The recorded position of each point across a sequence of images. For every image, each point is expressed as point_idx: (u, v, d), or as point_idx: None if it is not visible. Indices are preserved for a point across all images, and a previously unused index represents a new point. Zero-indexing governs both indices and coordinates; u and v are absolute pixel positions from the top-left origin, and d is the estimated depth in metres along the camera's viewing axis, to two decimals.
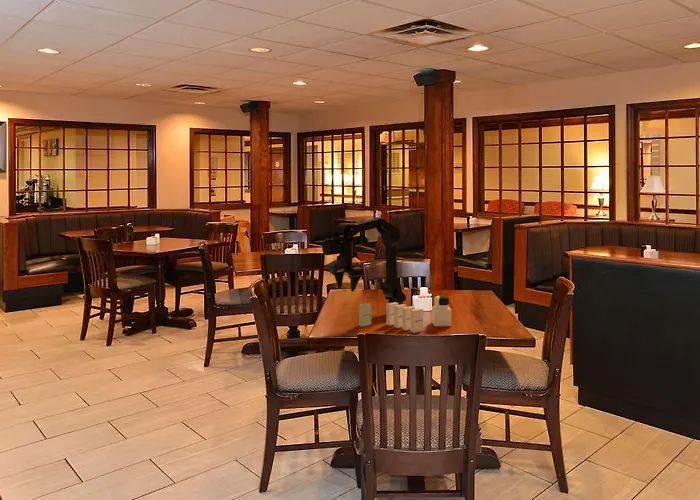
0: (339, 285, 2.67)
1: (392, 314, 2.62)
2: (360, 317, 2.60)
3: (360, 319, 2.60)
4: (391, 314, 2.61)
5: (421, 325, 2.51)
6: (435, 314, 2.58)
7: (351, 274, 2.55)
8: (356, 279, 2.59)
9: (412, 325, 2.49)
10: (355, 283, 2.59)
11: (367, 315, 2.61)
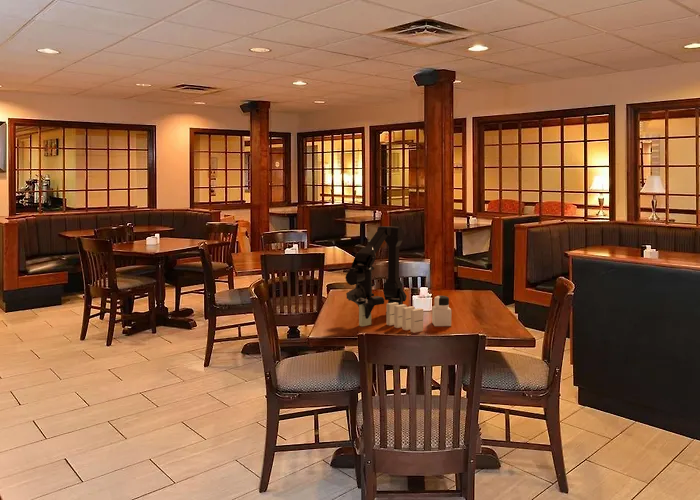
0: None
1: (392, 314, 2.62)
2: (360, 317, 2.60)
3: (360, 319, 2.60)
4: (391, 314, 2.61)
5: (421, 325, 2.51)
6: (435, 314, 2.58)
7: (371, 303, 2.53)
8: (370, 306, 2.60)
9: (412, 325, 2.49)
10: (369, 310, 2.60)
11: None
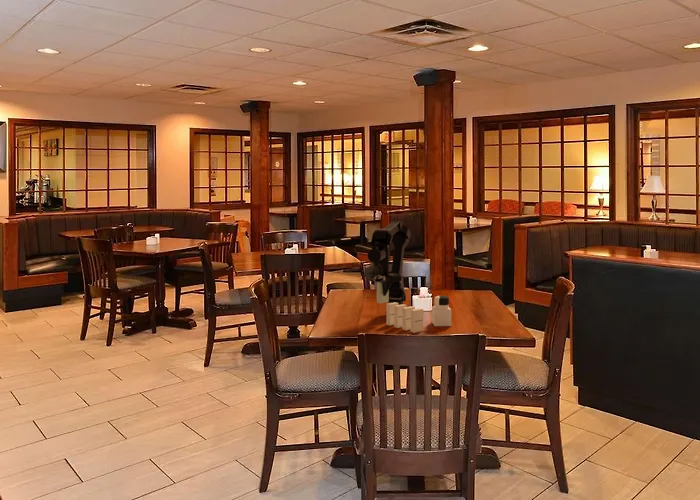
0: None
1: (392, 314, 2.62)
2: (378, 294, 2.64)
3: (378, 296, 2.64)
4: (391, 314, 2.61)
5: (421, 325, 2.51)
6: (435, 314, 2.58)
7: (389, 280, 2.56)
8: (388, 284, 2.63)
9: (412, 325, 2.49)
10: (387, 288, 2.63)
11: None
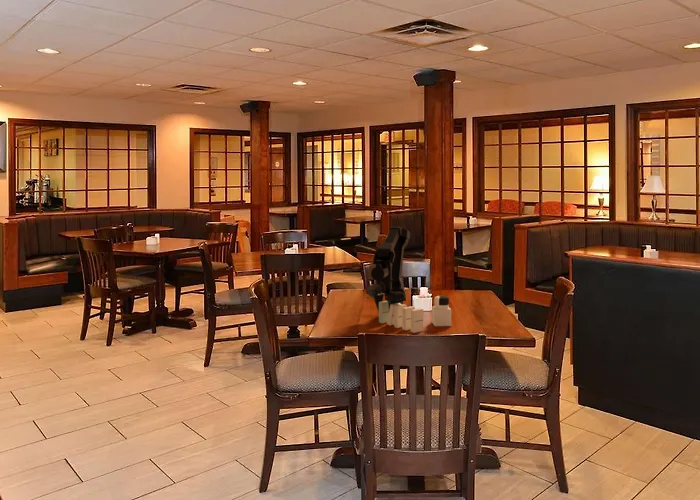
0: None
1: None
2: (380, 314, 2.65)
3: (380, 316, 2.65)
4: (393, 315, 2.60)
5: (421, 325, 2.51)
6: (435, 314, 2.58)
7: (391, 298, 2.58)
8: (394, 302, 2.63)
9: (412, 325, 2.49)
10: None
11: (387, 312, 2.66)
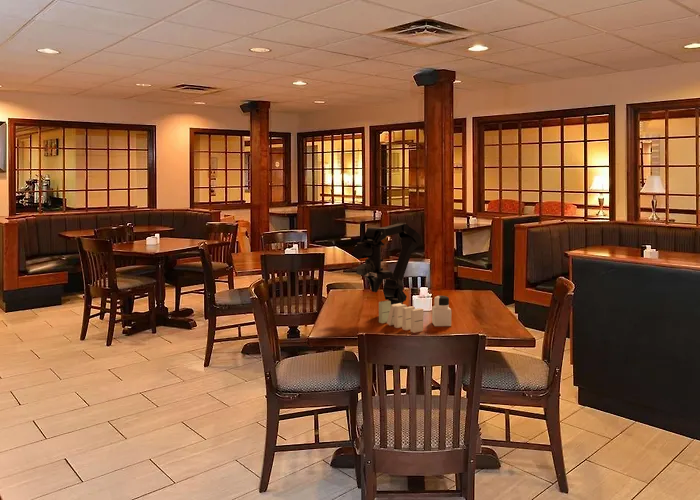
0: (373, 289, 2.72)
1: None
2: (380, 314, 2.65)
3: (380, 316, 2.65)
4: (393, 315, 2.60)
5: (421, 325, 2.51)
6: (435, 314, 2.58)
7: (380, 277, 2.62)
8: (379, 280, 2.69)
9: (412, 325, 2.49)
10: (378, 284, 2.70)
11: (387, 312, 2.66)
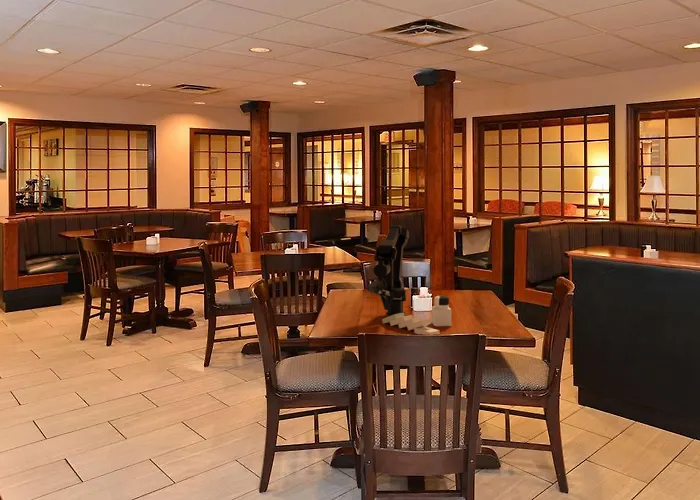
0: None
1: None
2: (388, 320, 2.61)
3: (386, 319, 2.62)
4: None
5: None
6: (435, 314, 2.58)
7: (393, 295, 2.57)
8: (390, 298, 2.65)
9: (419, 332, 2.47)
10: (389, 302, 2.65)
11: None
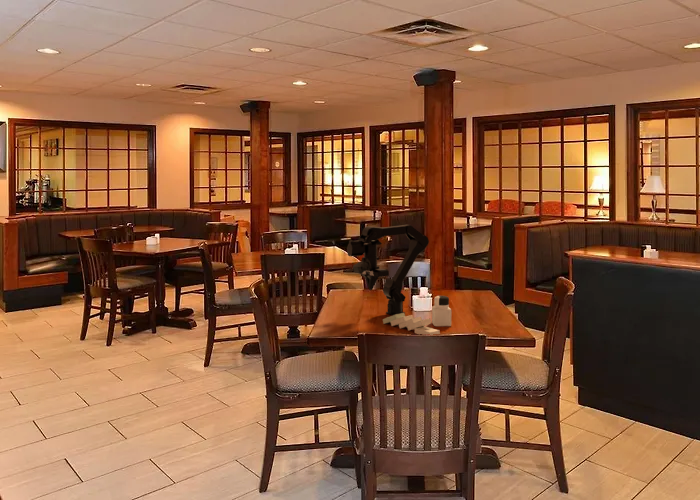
0: None
1: None
2: (388, 320, 2.61)
3: (387, 320, 2.62)
4: None
5: None
6: (435, 314, 2.58)
7: (376, 275, 2.67)
8: (374, 278, 2.75)
9: (419, 332, 2.47)
10: (373, 282, 2.75)
11: None
